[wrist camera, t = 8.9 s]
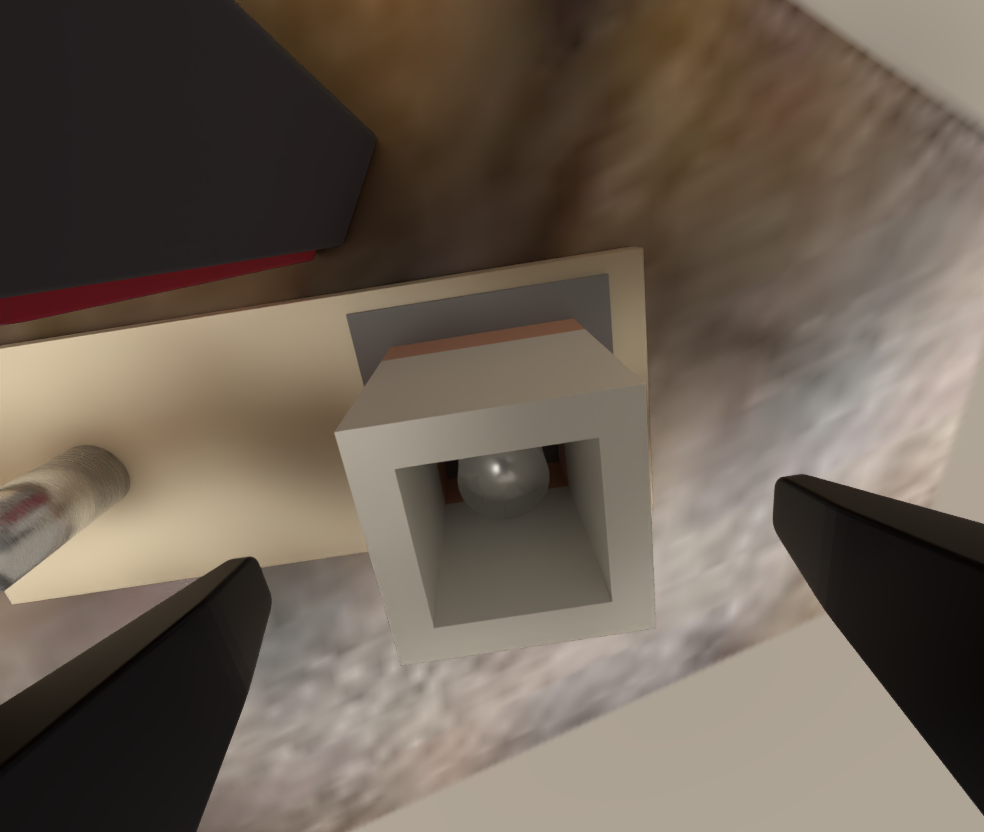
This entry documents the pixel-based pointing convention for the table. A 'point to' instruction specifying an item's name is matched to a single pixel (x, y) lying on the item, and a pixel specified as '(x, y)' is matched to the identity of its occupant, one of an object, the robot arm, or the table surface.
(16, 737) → the robot arm
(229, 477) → the pin board
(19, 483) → the pins
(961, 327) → the table surface
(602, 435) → the sleeve
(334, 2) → the table surface
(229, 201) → the upright charcoal slab
